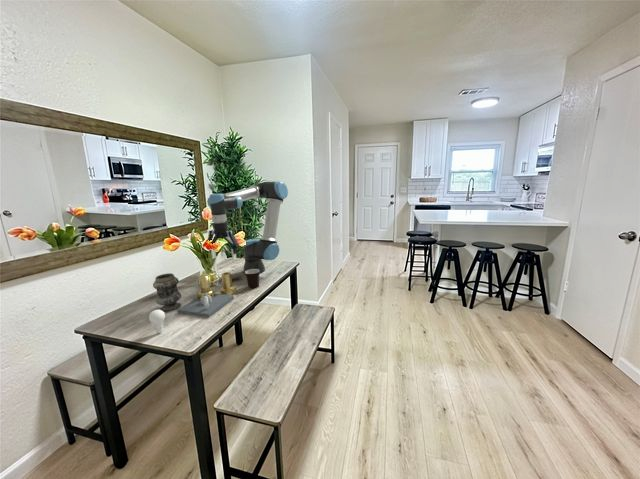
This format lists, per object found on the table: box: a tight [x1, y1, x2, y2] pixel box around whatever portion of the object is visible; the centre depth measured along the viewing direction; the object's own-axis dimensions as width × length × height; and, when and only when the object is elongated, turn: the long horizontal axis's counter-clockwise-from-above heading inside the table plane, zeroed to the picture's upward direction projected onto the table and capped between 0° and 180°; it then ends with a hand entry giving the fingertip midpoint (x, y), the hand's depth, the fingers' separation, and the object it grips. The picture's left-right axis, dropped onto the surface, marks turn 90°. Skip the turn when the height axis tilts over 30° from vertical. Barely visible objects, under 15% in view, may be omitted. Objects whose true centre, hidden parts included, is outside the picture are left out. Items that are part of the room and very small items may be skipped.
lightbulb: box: [148, 309, 166, 334], centre depth 121 cm, size 6×6×11 cm
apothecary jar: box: [152, 272, 182, 313], centre depth 144 cm, size 12×12×18 cm
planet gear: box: [219, 271, 237, 296], centre depth 160 cm, size 9×9×12 cm
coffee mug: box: [244, 269, 260, 290], centre depth 170 cm, size 12×9×10 cm
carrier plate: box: [176, 293, 235, 319], centre depth 145 cm, size 21×19×9 cm
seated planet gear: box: [196, 274, 216, 300], centre depth 152 cm, size 9×9×12 cm
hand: (224, 258), depth 156 cm, fingers open, 13 cm apart
